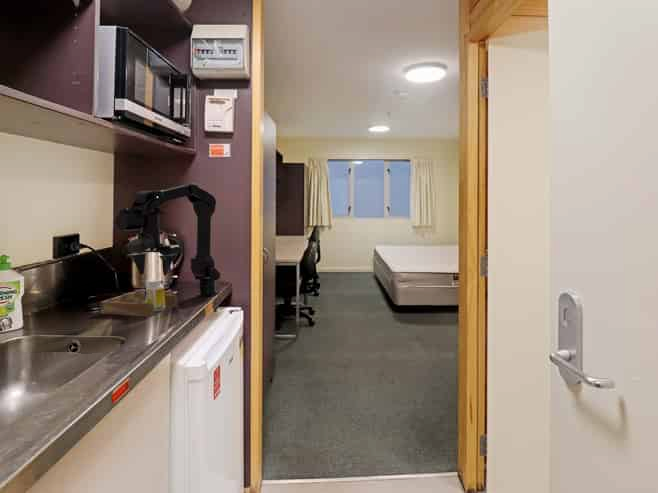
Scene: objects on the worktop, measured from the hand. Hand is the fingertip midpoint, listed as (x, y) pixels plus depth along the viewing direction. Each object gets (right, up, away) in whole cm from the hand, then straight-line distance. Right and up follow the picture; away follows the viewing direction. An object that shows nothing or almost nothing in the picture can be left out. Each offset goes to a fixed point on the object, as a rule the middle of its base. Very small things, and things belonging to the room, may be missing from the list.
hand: (153, 275), depth 129 cm
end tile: (0, -12, +1) cm, 12 cm away
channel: (-5, -12, +6) cm, 14 cm away
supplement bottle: (0, -12, +1) cm, 12 cm away
